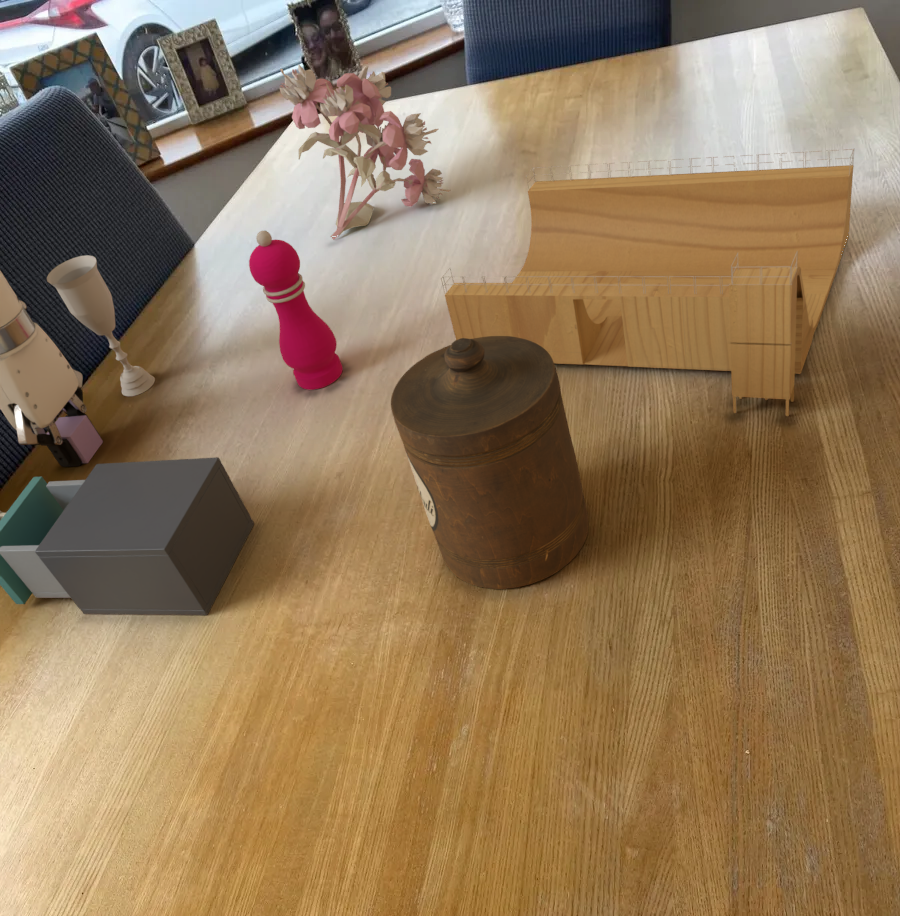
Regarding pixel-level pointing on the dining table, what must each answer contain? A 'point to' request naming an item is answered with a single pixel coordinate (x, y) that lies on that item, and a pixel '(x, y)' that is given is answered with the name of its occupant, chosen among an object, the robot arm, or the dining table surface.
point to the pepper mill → (295, 314)
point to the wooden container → (493, 459)
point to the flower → (354, 115)
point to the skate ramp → (674, 272)
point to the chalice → (96, 312)
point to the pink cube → (80, 435)
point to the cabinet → (148, 538)
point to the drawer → (32, 539)
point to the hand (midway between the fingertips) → (80, 451)
